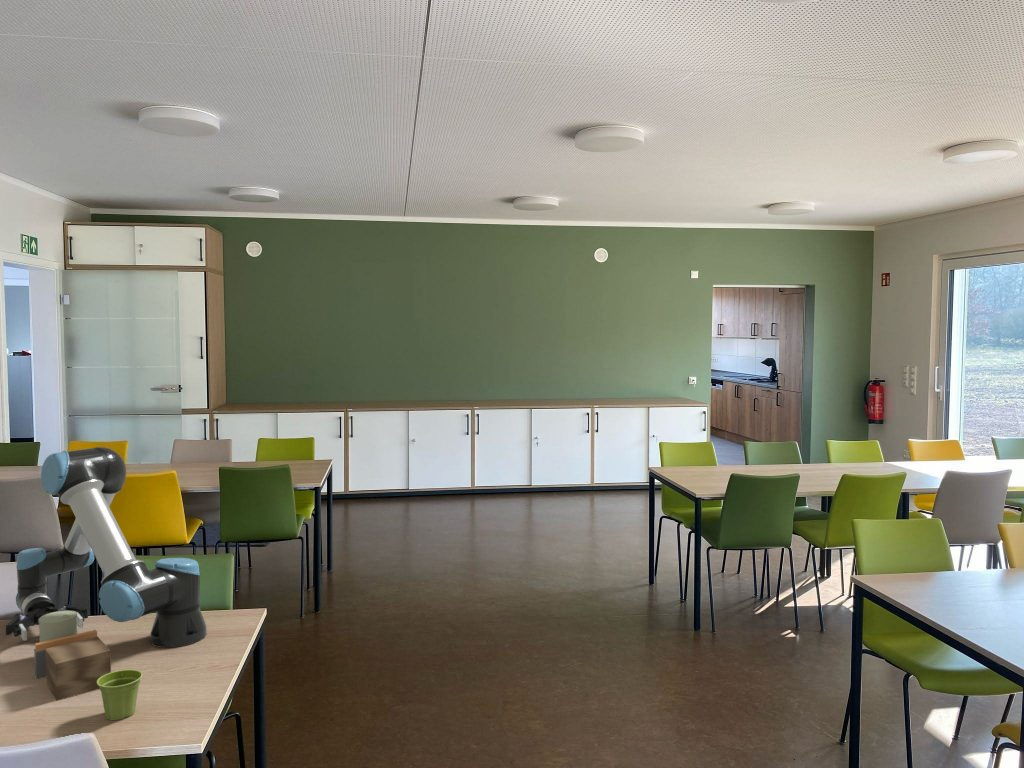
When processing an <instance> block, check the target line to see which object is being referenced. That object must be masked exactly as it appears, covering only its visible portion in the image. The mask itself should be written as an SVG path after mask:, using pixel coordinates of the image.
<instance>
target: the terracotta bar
mask: <svg viewBox="0 0 1024 768" xmlns="http://www.w3.org/2000/svg"><path fill="white" fill-rule="evenodd" d="M97 636H98V631H97V630H96V629H93V630H88V631H86V632H85V631H84V632H80V633H77V634H75V635H70V636H66V637H62V638H57V639H53V640H48V641H44V642H40V641H39V642H35V643H34V645H35V647H34V649H35V650H36V651H40V650H45V649H47V648H51V647H55V646H60V645H64V644H68V643H73V642H77V641H81V640H86V639H90V638H94V637H97Z"/></svg>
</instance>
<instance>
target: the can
mask: <svg viewBox="0 0 1024 768" xmlns="http://www.w3.org/2000/svg"><path fill="white" fill-rule="evenodd" d="M38 631H39V633H38V634H39V635H38V636H39V642H44V641H48V640H53V639H57V638H62V637H66V636H70V635H75V634H78V625H77V612H75V611H57V612H52V613H49V614H46V615H43V616H41V617H40V618H39V625H38Z"/></svg>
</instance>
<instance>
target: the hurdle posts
mask: <svg viewBox="0 0 1024 768" xmlns="http://www.w3.org/2000/svg"><path fill="white" fill-rule="evenodd" d="M97 637H99V636H98V635H97ZM33 650H34V651H33V652H34V655H33V657H34V677H35V676H36V677H35V679H37V678H38V679H42V678H45V677H44V676H46V663H45V650H40V651H36V650H35V648H34V649H33ZM41 677H42V678H41Z"/></svg>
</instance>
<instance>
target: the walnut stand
mask: <svg viewBox="0 0 1024 768" xmlns="http://www.w3.org/2000/svg"><path fill="white" fill-rule="evenodd" d="M111 657H112V655H111V650H110V649H109V647H108V646H107V645H106V644H105V643H104V641H102V640H101V638H100V637H99V636H98V637H94V638H90V639H86V640H81V641H77V642H73V643H68V644H64V645H60V646H55V647H51V648H47V649H45V663H46V677H45V684H46V686H47V687H49V688H48V689H49V690H50V693H51V694H52V695H53V698H54V699H55V701H59V700H64V699H68V698H72V697H74V695H75V696H78V694H79V695H82V694H86V693H90V692H92V691H97V690H100V688H99V686H98V685H97V680H98V679H99V678H100V677H102V676H103V675H105V674H108V673H111V672H112V667H111V665H112V664H111V662H112V660H111V659H112V658H111ZM67 697H68V698H67ZM63 698H64V699H63Z"/></svg>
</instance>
